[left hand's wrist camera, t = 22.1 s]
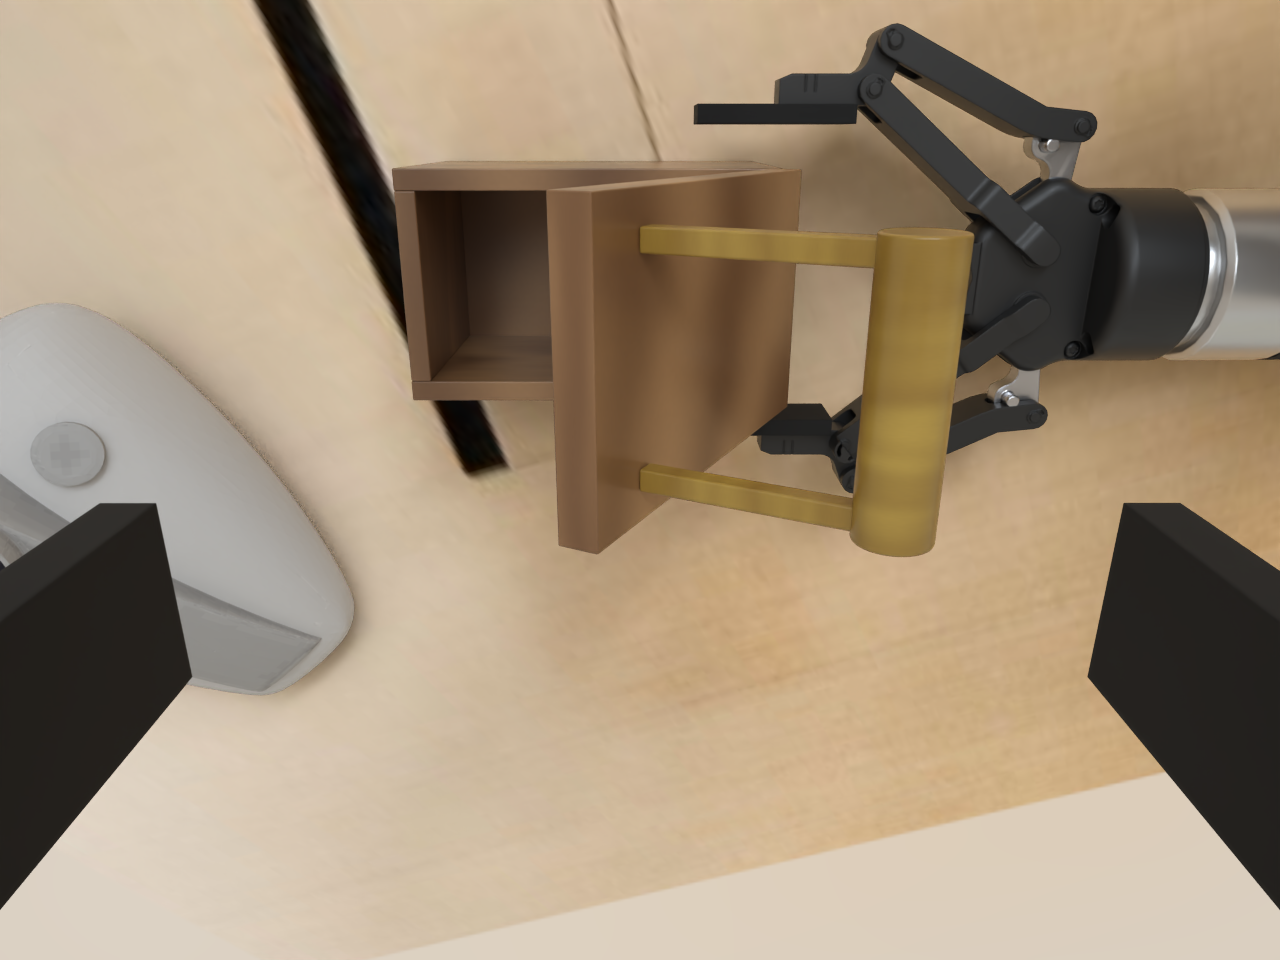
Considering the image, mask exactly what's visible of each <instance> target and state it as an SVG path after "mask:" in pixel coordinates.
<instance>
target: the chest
mask: <svg viewBox="0 0 1280 960" xmlns="http://www.w3.org/2000/svg"><path fill="white" fill-rule="evenodd" d="M765 169H782V168H778V167H774V166H769V165H765V164H761V163H757V162H752V161H445V162H437V163H430V164H422V165H415V166H407V167H400V168H393V169H392V175H393V186H394V190H395V192H394V196H395V206H396V217H397V228H398V239H399V249H400V260H401V271H402V282H403V292H404V303H405V314H406V324H407V335H408V346H409V357H410V367H411V378H412V390H413V399H414V400H554V396H553V368H552V339H551V311H550V283H549V254H548V226H547V198H546V191H547V190H550V189H561V188H571V187H582V186H593V185H604V184H614V183H625V182H636V181H647V180H658V179H668V178H679V177H690V176H701V175H711V174H722V173H733V172H744V171H754V170H765Z"/></svg>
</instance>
